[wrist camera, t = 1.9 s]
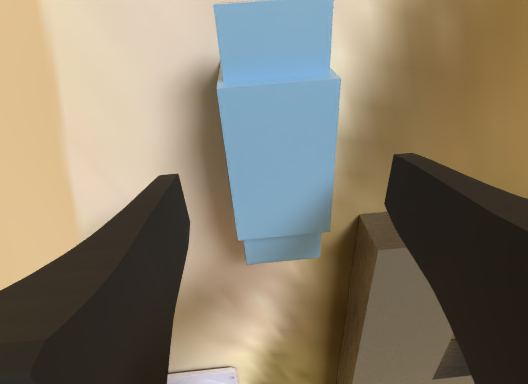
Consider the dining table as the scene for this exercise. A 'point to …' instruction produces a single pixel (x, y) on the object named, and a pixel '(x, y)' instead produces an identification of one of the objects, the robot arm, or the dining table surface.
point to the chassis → (394, 317)
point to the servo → (278, 123)
